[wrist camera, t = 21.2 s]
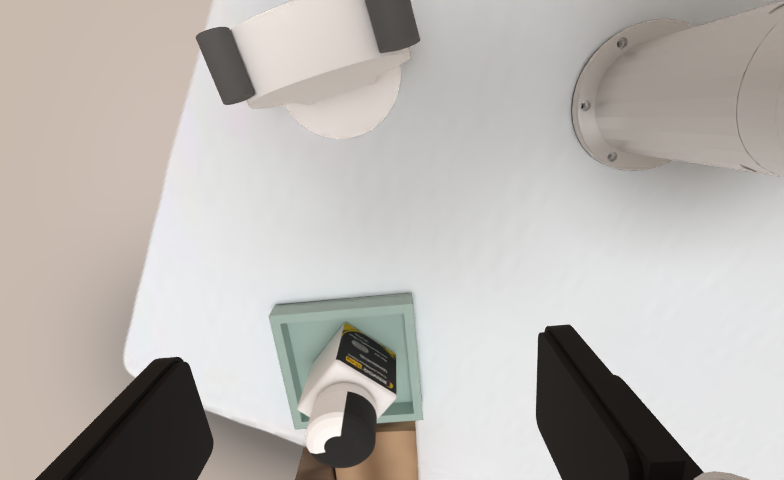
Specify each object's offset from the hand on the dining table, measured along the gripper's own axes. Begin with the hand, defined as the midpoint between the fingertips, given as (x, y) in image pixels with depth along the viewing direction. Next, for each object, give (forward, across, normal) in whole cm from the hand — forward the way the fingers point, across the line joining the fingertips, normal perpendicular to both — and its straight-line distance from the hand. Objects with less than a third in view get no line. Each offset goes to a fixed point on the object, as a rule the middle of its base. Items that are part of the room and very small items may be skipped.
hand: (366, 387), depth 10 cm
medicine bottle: (+28, +6, +19) cm, 34 cm away
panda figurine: (+28, +3, -11) cm, 31 cm away
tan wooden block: (+29, +5, +34) cm, 45 cm away
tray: (+28, +6, +19) cm, 35 cm away
